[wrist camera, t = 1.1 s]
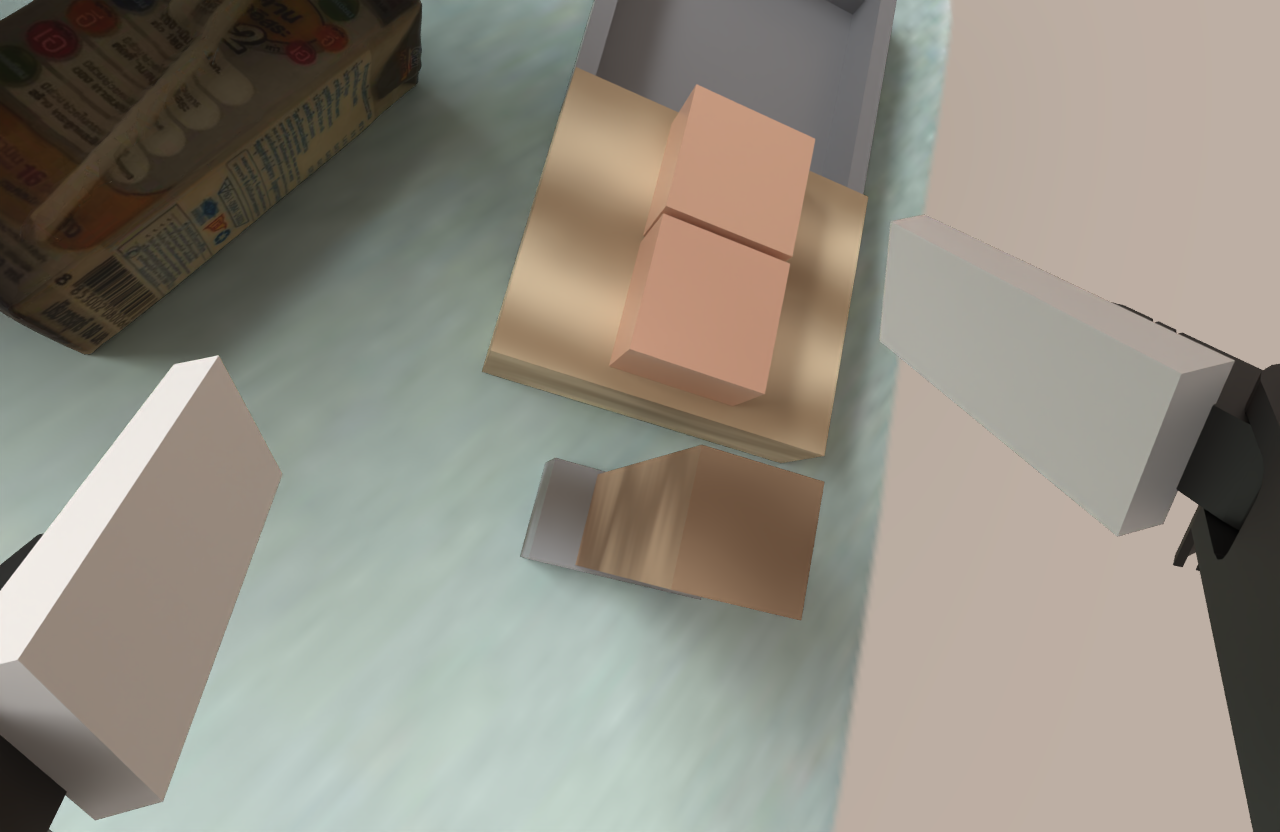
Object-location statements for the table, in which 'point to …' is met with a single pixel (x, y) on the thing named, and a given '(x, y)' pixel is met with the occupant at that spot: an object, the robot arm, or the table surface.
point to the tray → (756, 63)
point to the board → (602, 270)
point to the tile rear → (733, 174)
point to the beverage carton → (170, 137)
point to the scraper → (683, 526)
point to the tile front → (701, 313)
